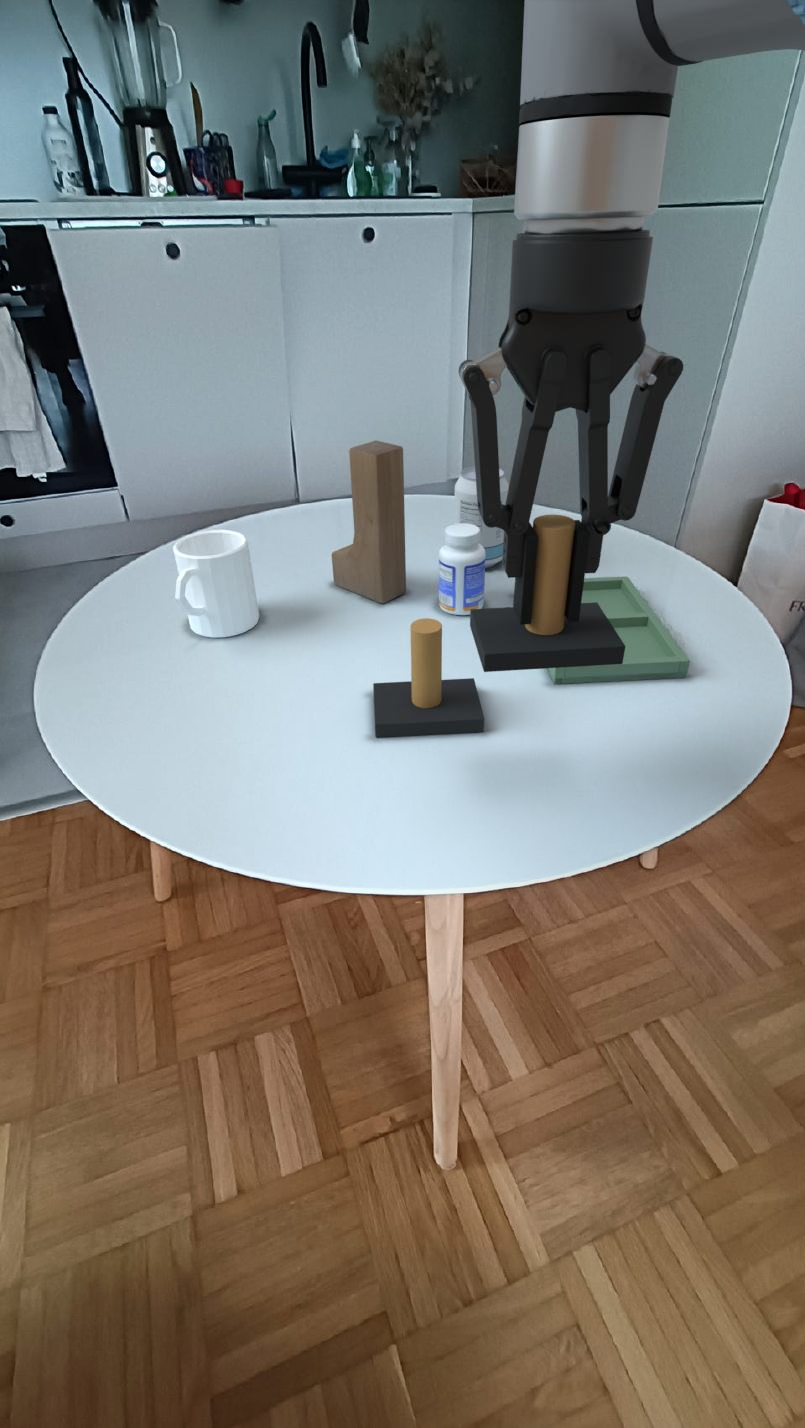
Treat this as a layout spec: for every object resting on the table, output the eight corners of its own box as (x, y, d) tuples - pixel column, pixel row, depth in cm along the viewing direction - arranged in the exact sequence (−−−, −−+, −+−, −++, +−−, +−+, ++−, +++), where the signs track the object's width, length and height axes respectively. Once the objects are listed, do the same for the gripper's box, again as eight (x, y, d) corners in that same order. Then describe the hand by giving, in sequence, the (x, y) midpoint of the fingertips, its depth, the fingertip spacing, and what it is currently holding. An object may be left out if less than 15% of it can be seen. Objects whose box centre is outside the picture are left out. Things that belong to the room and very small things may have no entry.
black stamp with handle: (622, 664, 51) (644, 536, 46) (483, 672, 51) (489, 544, 45) (594, 619, 57) (611, 500, 51) (469, 626, 57) (473, 507, 51)
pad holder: (686, 677, 73) (690, 660, 72) (553, 684, 72) (555, 667, 71) (625, 590, 89) (627, 576, 88) (516, 595, 89) (517, 581, 88)
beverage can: (503, 552, 100) (509, 464, 93) (504, 572, 95) (510, 481, 88) (454, 551, 101) (456, 464, 94) (452, 571, 95) (453, 481, 88)
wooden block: (332, 584, 93) (320, 440, 82) (357, 573, 95) (348, 432, 85) (382, 605, 88) (376, 454, 77) (407, 593, 90) (404, 445, 80)
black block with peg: (483, 732, 66) (488, 642, 61) (375, 737, 66) (370, 647, 60) (473, 690, 72) (476, 604, 66) (373, 695, 72) (368, 609, 66)
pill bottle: (484, 597, 89) (487, 520, 83) (482, 617, 84) (486, 538, 79) (440, 595, 89) (441, 519, 84) (436, 615, 85) (436, 537, 79)
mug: (158, 650, 80) (137, 567, 74) (212, 602, 89) (197, 526, 84) (222, 659, 78) (205, 575, 72) (270, 610, 87) (259, 532, 82)
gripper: (698, 220, 42) (635, 586, 56) (430, 229, 42) (432, 597, 55) (758, 221, 36) (671, 632, 50) (445, 232, 36) (443, 645, 49)
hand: (545, 613), depth 52 cm, fingers closed on black stamp with handle, 3 cm apart
